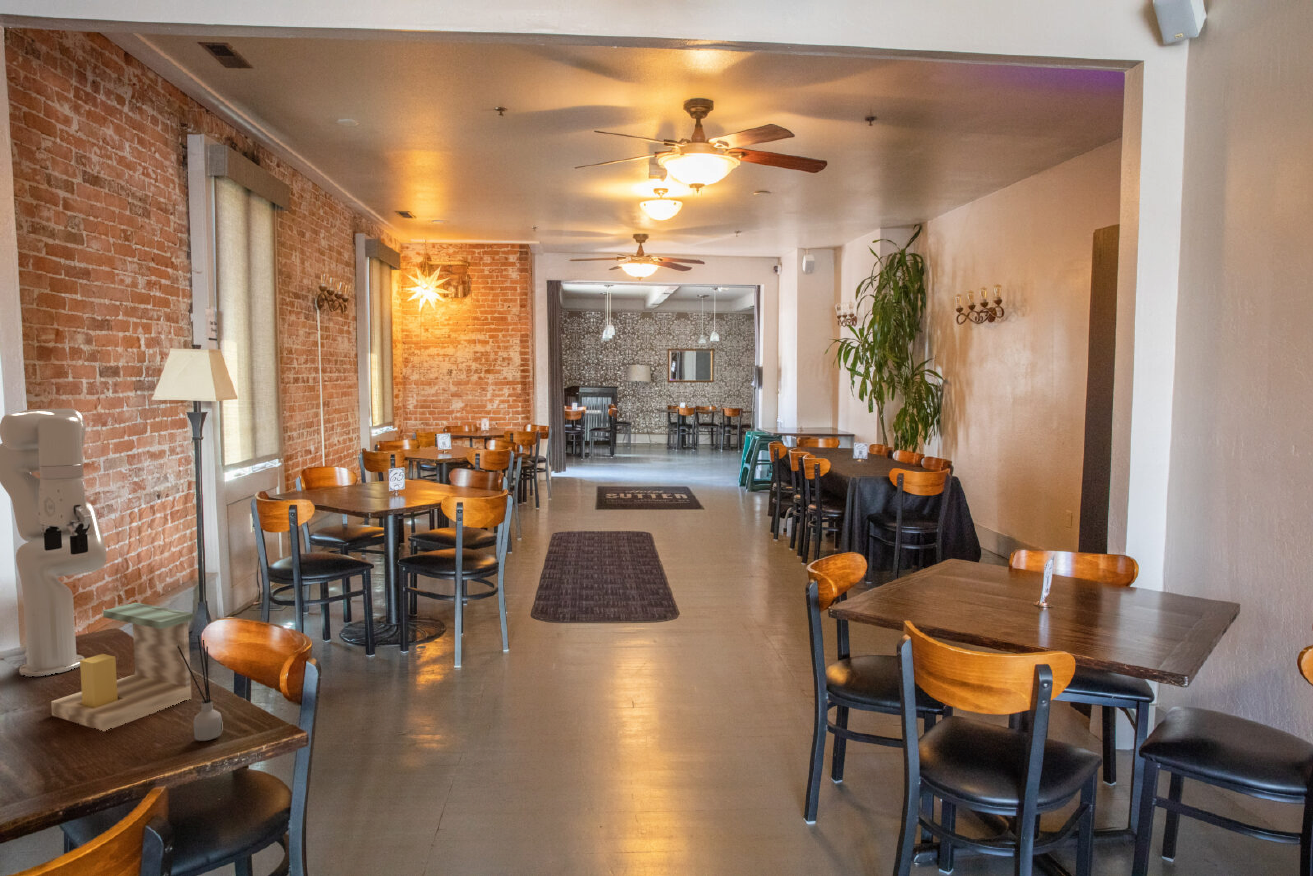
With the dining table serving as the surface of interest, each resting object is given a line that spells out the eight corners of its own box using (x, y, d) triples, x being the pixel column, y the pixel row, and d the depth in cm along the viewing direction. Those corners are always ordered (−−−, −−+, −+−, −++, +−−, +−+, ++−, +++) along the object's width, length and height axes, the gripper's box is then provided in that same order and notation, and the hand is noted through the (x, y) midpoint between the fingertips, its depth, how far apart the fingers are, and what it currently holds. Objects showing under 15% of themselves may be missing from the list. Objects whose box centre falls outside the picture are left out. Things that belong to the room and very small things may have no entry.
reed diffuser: (227, 743, 152) (223, 640, 150) (186, 754, 147) (181, 648, 146) (216, 726, 159) (212, 628, 158) (177, 735, 155) (172, 635, 154)
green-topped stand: (49, 714, 165) (44, 625, 164) (139, 684, 182) (135, 602, 181) (107, 732, 157) (102, 638, 155) (196, 698, 173) (192, 613, 172)
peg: (83, 717, 164) (80, 660, 163) (105, 709, 168) (102, 653, 167) (95, 721, 162) (92, 663, 161) (118, 712, 166) (115, 656, 165)
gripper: (19, 473, 172) (24, 551, 173) (66, 476, 165) (70, 558, 166) (58, 469, 179) (62, 544, 180) (104, 473, 171) (108, 551, 172)
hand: (66, 551), depth 173 cm, fingers open, 9 cm apart
